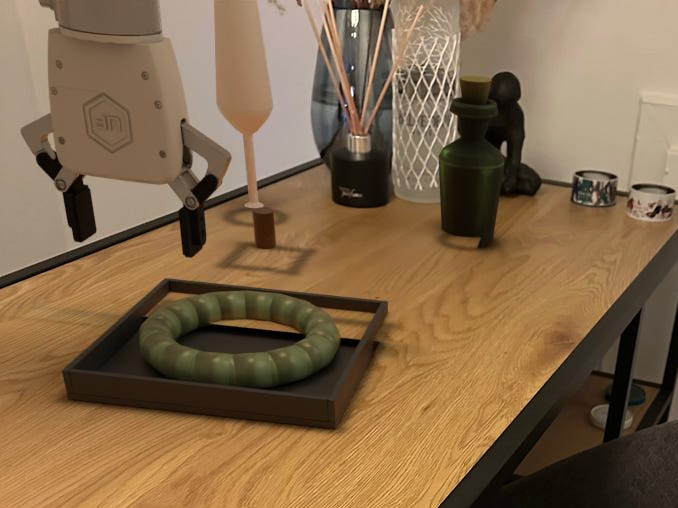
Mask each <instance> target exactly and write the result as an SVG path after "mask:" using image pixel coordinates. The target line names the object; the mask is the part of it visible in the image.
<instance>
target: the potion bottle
mask: <svg viewBox="0 0 678 508" xmlns="http://www.w3.org/2000/svg"><path fill="white" fill-rule="evenodd" d="M458 79H459V87H460V95H461V96H460V97H455V98H452V100H451V103H450V106H449V108H448V109H449V113H452V114H453V115H455V116H456V117H457V122H458V127H459V128H458V129H459V134H460V137H459V138H456V139H454V140H453V141H452V142H450V143H448V144H446V145H445V146H443V147H442V149H441V150H440V152H439V155H438V159H437V160H438V181H439V182H438V183H439V198H440V199H439V200H440V220H441V221H440V222H441V223H440V224H441V231H443V232H445V233H447V234H448V235H452V236H457V237H462V238H479V241H478V244H477V246H476V248H477V249H481V248H485V247H488V246H489V245H490V244H491V243H493V241H494V235H495V229H496V228H495V227H496V222H497V214H498V210H499V209H498V208H499V202H500V195H501V188H502V181H503V175H504V168H505V159H504V156H503V154H502V151H501V150H500V149H498V148H497V147H496V146H495V145H493V143H491V142H490V141H488V140H487V139H486V138H485V137H486V134H487V130H488V127H489V123H490V119H492V118H494V117H496V116H499V111H498V109H499V108H498V105H497V101H496V100H493V99H489V95H490V90H491V87H492V86H491V85H492V82H493V79H492V78H490V77H486V76H480V75H461V76H459V77H458Z"/></svg>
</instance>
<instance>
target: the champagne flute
mask: <svg viewBox="0 0 678 508" xmlns="http://www.w3.org/2000/svg"><path fill="white" fill-rule="evenodd" d="M213 13H214V14H213V16H214V17H213V18H214V19H213V21H214V58H215V97H216V98H215V100H216V101H215V103H216V106H217V109H218V110H219V112H220V114H221V115H222V116H223V118H224V120H226V121H227V122H228V123H229V124H230V125H231V127H233V128H234V129H235V130H236V131H237V132H239V133H240V134H242V140H243V141H242V142H243V151H244V152H243V153H244V161H245V173H246V184H247V185H246V186H247V194H248V196H247V197H248V201H247V202H246V203H244V207H246V208H249V209H255V208H264V206H265V205H264V204H263V203H262V202H260V201H259V194H258V183H257V182H258V181H257V171H256V157H255V148H254V147H255V146H254V136H253V135H254V134H255V133H256V132H258V131H260V129H261V128H262V126H264V125H265V123H266V122H267V121H268V119H269V117H270V115H271V114H272V112H273V108H274V101H273V94H272V88H271V83H270V75H269V68H268V63H267V56H266V55H267V54H266V48H265V43H264V36H263V29H262V23H261V15H260V10H259V4H258V0H213Z"/></svg>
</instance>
